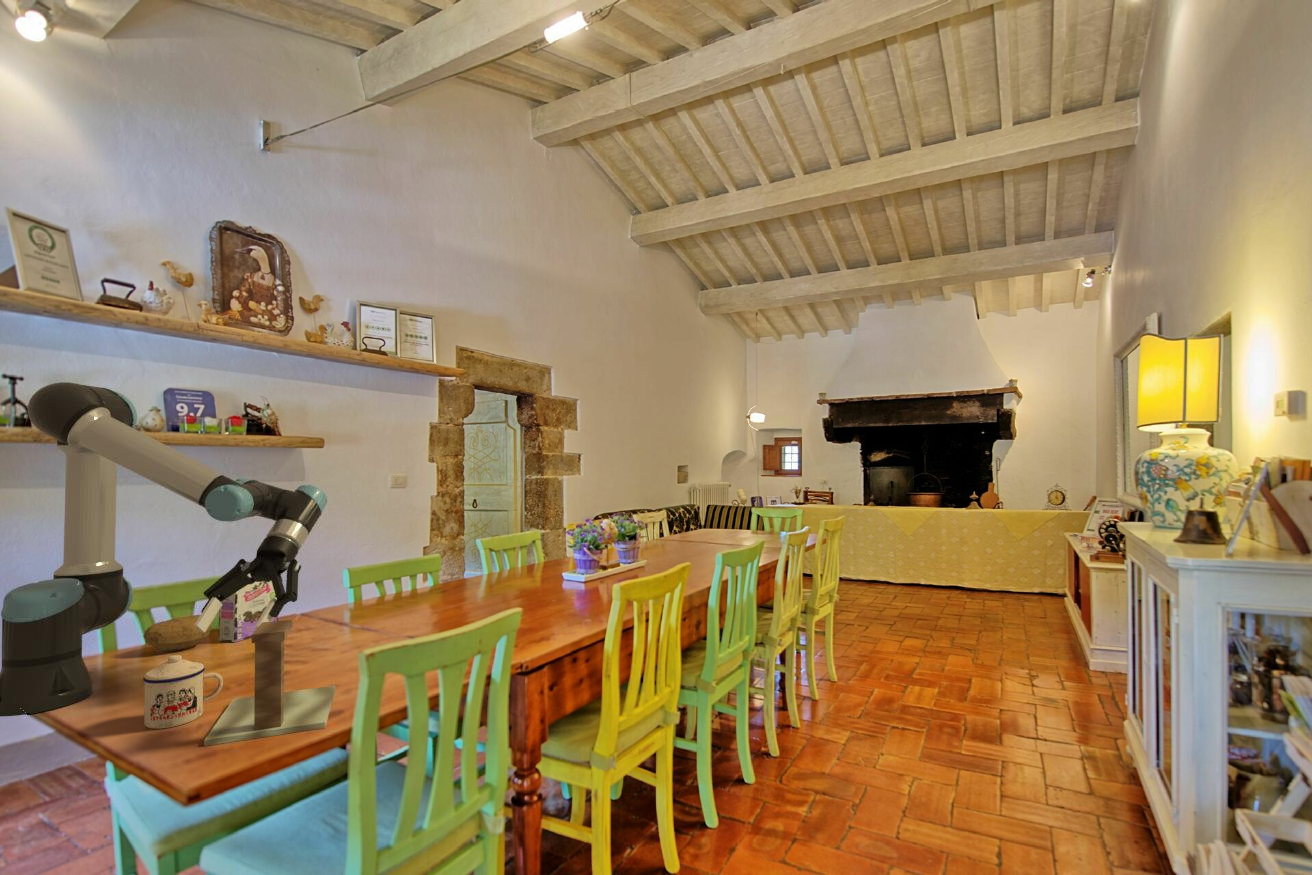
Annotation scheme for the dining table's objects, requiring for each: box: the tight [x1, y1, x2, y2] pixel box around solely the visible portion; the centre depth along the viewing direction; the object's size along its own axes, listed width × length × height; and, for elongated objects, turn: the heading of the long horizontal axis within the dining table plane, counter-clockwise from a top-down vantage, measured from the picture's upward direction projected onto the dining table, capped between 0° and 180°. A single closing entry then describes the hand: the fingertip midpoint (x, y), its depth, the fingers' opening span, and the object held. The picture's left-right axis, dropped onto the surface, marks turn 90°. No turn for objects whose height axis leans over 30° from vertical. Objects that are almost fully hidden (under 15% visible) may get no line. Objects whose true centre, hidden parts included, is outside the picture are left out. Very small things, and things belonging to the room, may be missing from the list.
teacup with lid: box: [142, 654, 224, 730], centre depth 119 cm, size 12×9×12 cm
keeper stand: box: [203, 619, 337, 747], centre depth 119 cm, size 18×20×18 cm
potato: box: [143, 614, 212, 653], centre depth 162 cm, size 10×14×8 cm
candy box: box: [218, 573, 279, 643], centre depth 175 cm, size 14×6×16 cm, turn 165°
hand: (229, 629), depth 129 cm, fingers open, 13 cm apart
